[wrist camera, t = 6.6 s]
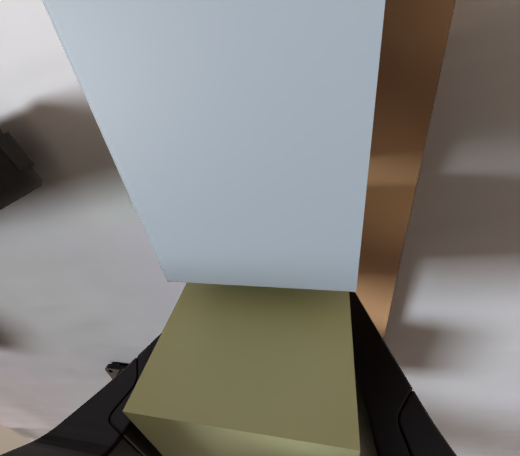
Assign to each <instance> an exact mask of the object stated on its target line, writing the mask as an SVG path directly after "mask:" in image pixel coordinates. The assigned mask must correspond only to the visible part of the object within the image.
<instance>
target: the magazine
mask: <svg viewBox="0 0 520 456" xmlns="http://www.w3.org/2000/svg"><path fill="white" fill-rule="evenodd" d="M33 165H34V163H33V162H32V161H31V159H30V158H29V157H28V156H27V155H26V153H25V152H24V151H23V150H22V149H21V147H20V146H19V145H18V144H17V142H16V141H15V140H14V139H13V138H12V136H11V135H10V134H9V133H8V132H7V133H3V132H2V131H1V130H0V210H1V209H3V208H4V207H6V206H8V205H9V204H11V203H13V202H15V201H16V200H18V199H20V198H21V197H23V196H25V195H27V194H28V193H30V192H32V191H33V190H35V189H37V188H39V187H40V186H41V184H42V179H41V178H40V177H39V175H38V174H37V173H36V172H35V171H34V169H33V168H32V167H31V166H33Z"/></svg>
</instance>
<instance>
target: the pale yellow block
mask: <svg viewBox="0 0 520 456" xmlns="http://www.w3.org/2000/svg"><path fill="white" fill-rule="evenodd" d="M123 413H124V414H125V415H126V416H127V417H128V418H129V419H130V420H131V421H132V422H133V424H134V425H135V426H136V427H137V428H138V429H139V430H140V431H141V432H142V433H143V434H144V436H145V437H146V438H147V439H148V440H149V441H150V442H151V443H152V444H153V445H154V447H155V448H156V449H157V450H158V451H159V452H160V453H161V454H162V455H163V456H359V455H360V440H359V426H358V412H357V397H356V383H355V369H354V355H353V341H352V326H351V312H350V298H349V291H332V290H313V289H295V288H277V287H259V286H241V285H223V284H205V283H187V284H186V286H185V288H184V290H183V292H182V294H181V296H180V298H179V300H178V302H177V304H176V306H175V308H174V310H173V312H172V314H171V316H170V318H169V320H168V322H167V324H166V326H165V328H164V330H163V332H162V334H161V336H160V338H159V340H158V342H157V344H156V346H155V348H154V350H153V352H152V354H151V356H150V358H149V360H148V362H147V364H146V366H145V368H144V370H143V372H142V374H141V376H140V378H139V380H138V382H137V384H136V386H135V388H134V390H133V392H132V394H131V396H130V398H129V400H128V402H127V404H126V406H125V408H124V410H123Z"/></svg>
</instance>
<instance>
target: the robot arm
mask: <svg viewBox="0 0 520 456" xmlns="http://www.w3.org/2000/svg"><path fill="white" fill-rule="evenodd" d="M349 298H350V312H351V326H352V341H353V355H354V369H355V383H356V397H357V412H358V426H359V440H360V455H359V456H457V455H456V454H455V453H454V451H453V450H452V449H451V447H450V446H449V444H448V443H447V442H446V440H445V439H444V437H443V436H442V434H441V433H440V431H439V430H438V429H437V427H436V426H435V424H434V423H433V421H432V419H431V418H430V416H429V415H428V413H427V412H426V410H425V408H424V407H423V405H422V403H421V402H420V400H419V398H418V397H417V395H416V393H415V392H414V391H412V387H411V385H410V384H409V382H408V380H407V378H406V377H405V375H404V373H403V372H402V370H401V368H400V367H399V365H398V363H397V362H396V360H395V358H394V357H393V355H392V353H391V351H390V350H389V348H388V346H387V345H386V343H385V341H384V340H383V338H382V336H381V335H380V333H379V331H378V330H377V328H376V326H375V325H374V323H373V321H372V319H371V318H370V316H369V314H368V313H367V311H366V309H365V308H364V306H363V304H362V303H361V301H360V299H359V298H358V296H357V294H356V293H355V292H350V291H349ZM161 334H162V333H161ZM161 334H160V335H159V336H158V337H157V338H156V339H155V340H154V341H153V342H152V343H151V344H150V345H149V346H148V347H147V348H146V349H144V350H143V351H142V352H141V353H140V354H139V355H138V357H137V358H135V359H134V360H133V361H132V362H131V363H130V364H129V365H128V366H123V365H115V364H108V365H107V367H106V368H105V370H106V372H107V373H108V374H109V375H110V376H111V378H112V379H113V380H112V381H110V382H109V383H108V384H107V385H106V386H105V387H104V388H102V389H101V390H100V391H99V392H98V393H97V394H95V395H94V396H93V397H92V398H90V399H89V400H88V401H87V402H86V403H84V404H83V405H82V406H81V407H80V408H78V409H77V410H76V411H75V412H74V413H72V414H71V415H70V416H69V417H68V418H66V419H65V420H64V421H63V422H62V423H60V424H59V425H58V426H56V427H55V428H54V429H53V430H51V431H50V432H48V433H47V434H45V435H43V436H42V437H40V438H38V439H36V440H35V441H33V442H31V443H28V444H26V445H24V446H21V447H19V448H17V449H14V450H12V451H9V452H7V453H5V454H2V455H0V456H163V455H162V454H161V453H160V452H159V451H158V450H157V449H156V448H155V447H154V445H153V444H152V443H151V442H150V441H149V440H148V439H147V438H146V437H145V436H144V434H143V433H142V432H141V431H140V430H139V429H138V428H137V427H136V426H135V425H134V424H133V422H132V421H131V420H130V419H129V418H128V417H127V416H126V415H125V414H124V413H123V410H124V408H125V406H126V404H127V402H128V400H129V398H130V396H131V394H132V392H133V390H134V388H135V386H136V384H137V382H138V380H139V378H140V376H141V374H142V372H143V370H144V368H145V366H146V364H147V362H148V360H149V358H150V356H151V354H152V352H153V350H154V348H155V346H156V344H157V342H158V340H159V338H160V336H161Z"/></svg>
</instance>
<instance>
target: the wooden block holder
mask: <svg viewBox="0 0 520 456" xmlns="http://www.w3.org/2000/svg"><path fill="white" fill-rule="evenodd" d="M454 5H455V0H385V10H384V20H383V30H382V40H381V50H380V60H379V70H378V79H377V89H376V99H375V109H374V119H373V129H372V139H371V149H370V159H369V169H368V179H367V189H366V199H365V209H364V219H363V229H362V239H361V249H360V259H359V269H358V278H357V288H356V292H355V293H356V294H357V296H358V298H359V299H360V301H361V303H362V304H363V306H364V308H365V309H366V311H367V313H368V314H369V316H370V318H371V319H372V321H373V323H374V325H375V326H376V328H377V330H378V331H379V333H380V335H381V336H382V338H383V340H384V335H385V330H386V326H387V321H388V316H389V312H390V307H391V302H392V297H393V293H394V288H395V283H396V279H397V274H398V269H399V264H400V260H401V255H402V250H403V245H404V241H405V236H406V231H407V227H408V222H409V217H410V212H411V208H412V203H413V198H414V194H415V189H416V184H417V179H418V175H419V170H420V165H421V160H422V156H423V151H424V146H425V142H426V137H427V132H428V127H429V123H430V118H431V113H432V109H433V104H434V99H435V94H436V90H437V85H438V80H439V76H440V71H441V66H442V61H443V57H444V52H445V47H446V42H447V38H448V33H449V28H450V24H451V19H452V14H453V9H454Z"/></svg>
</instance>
